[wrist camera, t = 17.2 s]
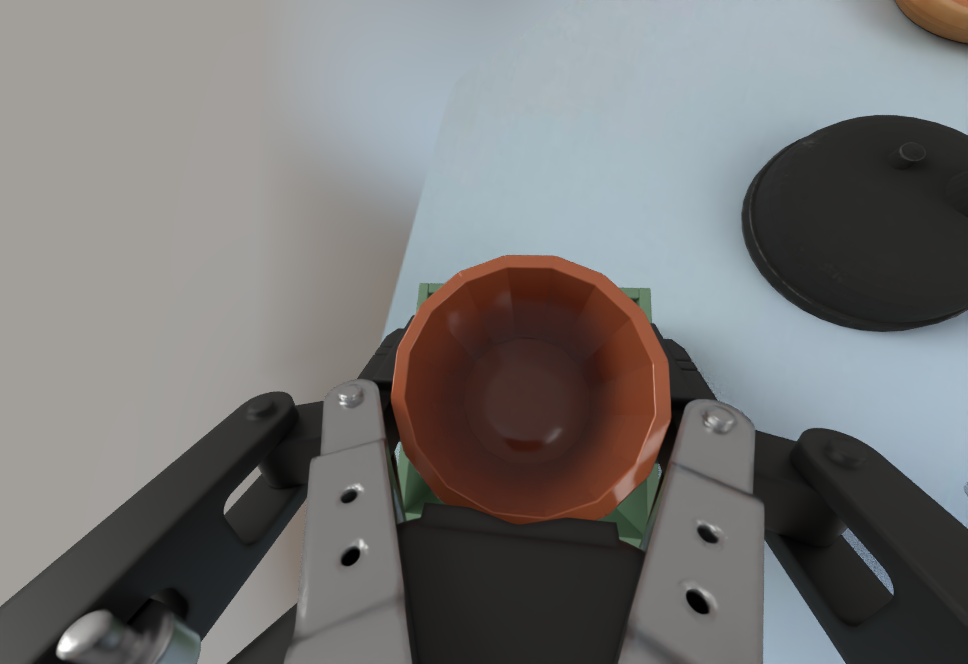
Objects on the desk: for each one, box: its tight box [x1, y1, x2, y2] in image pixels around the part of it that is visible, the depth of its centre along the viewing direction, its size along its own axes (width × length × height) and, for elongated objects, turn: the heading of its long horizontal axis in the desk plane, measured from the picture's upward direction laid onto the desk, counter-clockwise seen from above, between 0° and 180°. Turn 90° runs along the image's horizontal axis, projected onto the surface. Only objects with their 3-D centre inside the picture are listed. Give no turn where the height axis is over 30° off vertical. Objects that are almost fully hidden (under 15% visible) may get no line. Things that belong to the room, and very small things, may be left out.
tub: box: [398, 283, 659, 548], centre depth 22 cm, size 13×13×7 cm
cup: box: [391, 255, 672, 524], centre depth 12 cm, size 6×6×8 cm
